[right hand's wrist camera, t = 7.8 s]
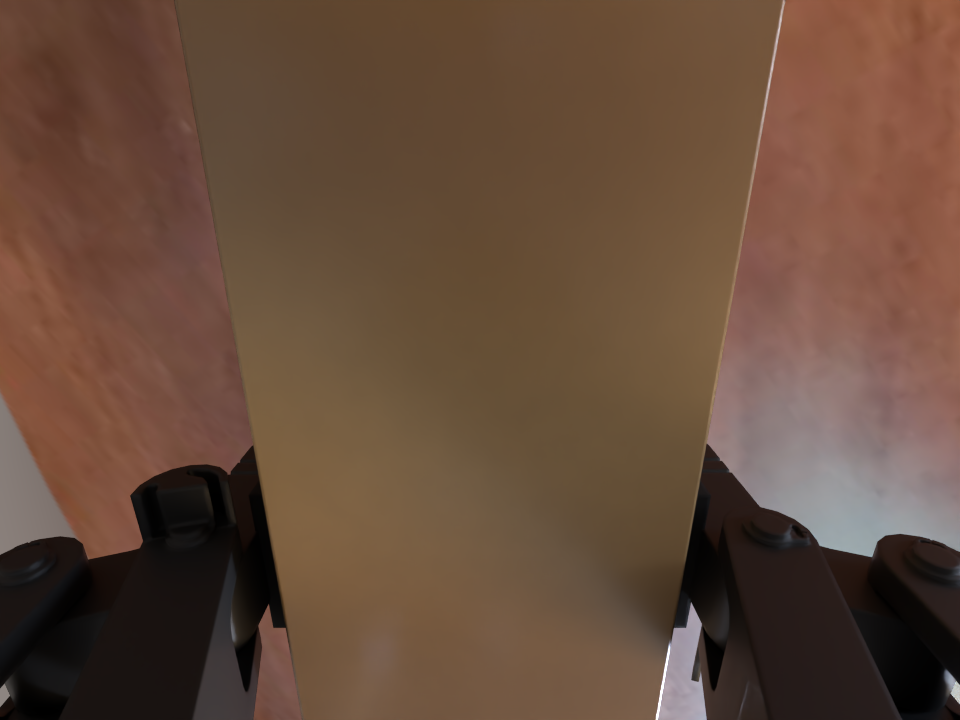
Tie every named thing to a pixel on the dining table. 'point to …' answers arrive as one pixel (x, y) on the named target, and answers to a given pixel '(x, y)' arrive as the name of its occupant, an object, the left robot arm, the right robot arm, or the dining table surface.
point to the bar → (479, 328)
